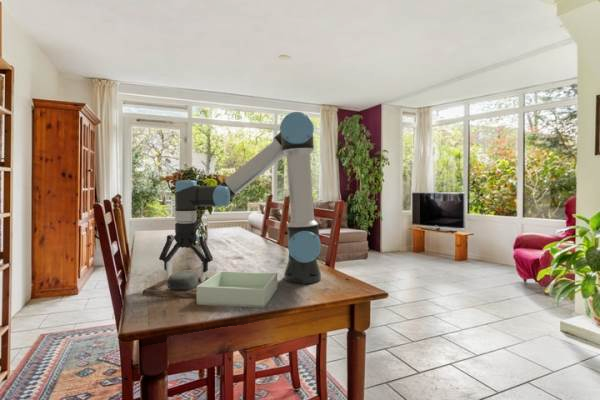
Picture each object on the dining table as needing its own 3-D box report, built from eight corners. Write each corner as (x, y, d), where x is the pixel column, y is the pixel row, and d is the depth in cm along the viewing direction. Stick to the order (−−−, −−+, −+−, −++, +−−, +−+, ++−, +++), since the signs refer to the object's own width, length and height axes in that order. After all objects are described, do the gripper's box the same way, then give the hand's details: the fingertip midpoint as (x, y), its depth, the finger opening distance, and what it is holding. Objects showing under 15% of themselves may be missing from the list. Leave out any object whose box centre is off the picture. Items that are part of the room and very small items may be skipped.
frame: (224, 282, 136) (224, 278, 136) (203, 298, 116) (203, 293, 116) (171, 279, 139) (171, 276, 139) (142, 294, 119) (142, 290, 119)
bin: (277, 288, 128) (277, 273, 127) (264, 308, 107) (264, 289, 107) (220, 286, 131) (220, 270, 130) (196, 304, 110) (196, 286, 110)
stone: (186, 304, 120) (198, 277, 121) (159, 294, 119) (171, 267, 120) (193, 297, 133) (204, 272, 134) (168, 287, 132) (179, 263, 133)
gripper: (221, 221, 129) (221, 278, 130) (160, 220, 132) (160, 275, 133) (214, 223, 121) (214, 284, 122) (148, 222, 125) (149, 281, 125)
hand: (186, 279), depth 127 cm, fingers open, 12 cm apart
